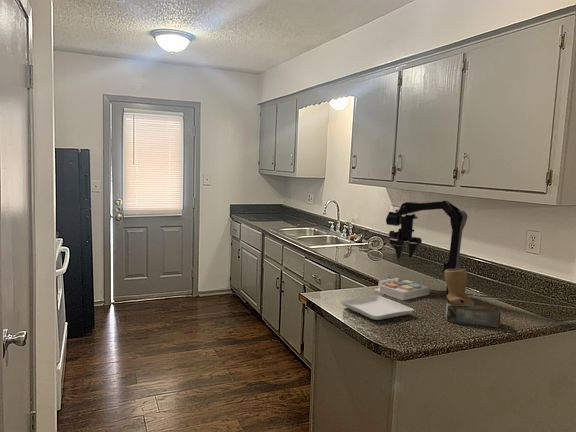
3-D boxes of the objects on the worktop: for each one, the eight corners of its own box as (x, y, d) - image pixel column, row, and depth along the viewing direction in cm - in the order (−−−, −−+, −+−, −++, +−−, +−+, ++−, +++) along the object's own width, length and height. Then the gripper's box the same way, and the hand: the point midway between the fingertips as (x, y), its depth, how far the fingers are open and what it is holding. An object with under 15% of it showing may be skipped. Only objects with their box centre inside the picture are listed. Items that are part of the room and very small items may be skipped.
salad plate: (374, 324, 168) (375, 315, 167) (338, 308, 185) (339, 299, 185) (415, 317, 179) (415, 308, 179) (377, 302, 197) (377, 294, 196)
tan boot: (440, 296, 212) (443, 264, 210) (467, 299, 209) (470, 267, 208) (445, 305, 197) (448, 271, 195) (474, 308, 195) (477, 274, 193)
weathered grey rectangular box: (444, 315, 183) (446, 299, 182) (496, 322, 178) (498, 306, 177) (445, 321, 175) (447, 304, 175) (500, 329, 170) (502, 311, 170)
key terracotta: (398, 288, 210) (398, 284, 210) (392, 289, 208) (392, 285, 207) (390, 286, 214) (391, 282, 214) (384, 287, 211) (385, 283, 211)
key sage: (414, 285, 218) (414, 281, 218) (408, 286, 215) (408, 283, 215) (406, 283, 221) (406, 279, 221) (400, 284, 219) (401, 280, 218)
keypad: (429, 294, 214) (430, 285, 213) (402, 300, 201) (403, 290, 201) (400, 286, 227) (401, 277, 226) (373, 291, 214) (374, 281, 213)
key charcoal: (406, 287, 214) (406, 283, 214) (400, 288, 211) (401, 284, 211) (398, 285, 218) (399, 281, 217) (393, 286, 215) (393, 282, 215)
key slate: (421, 289, 212) (421, 285, 211) (415, 290, 209) (415, 286, 209) (413, 287, 215) (413, 283, 215) (407, 288, 212) (407, 284, 212)
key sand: (413, 291, 208) (413, 287, 208) (407, 292, 205) (407, 288, 205) (405, 288, 211) (405, 284, 211) (399, 289, 208) (399, 286, 208)
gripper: (405, 224, 240) (403, 253, 242) (381, 225, 229) (379, 256, 231) (423, 227, 232) (421, 257, 233) (399, 228, 220) (397, 260, 222)
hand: (404, 257), depth 230 cm, fingers open, 9 cm apart
